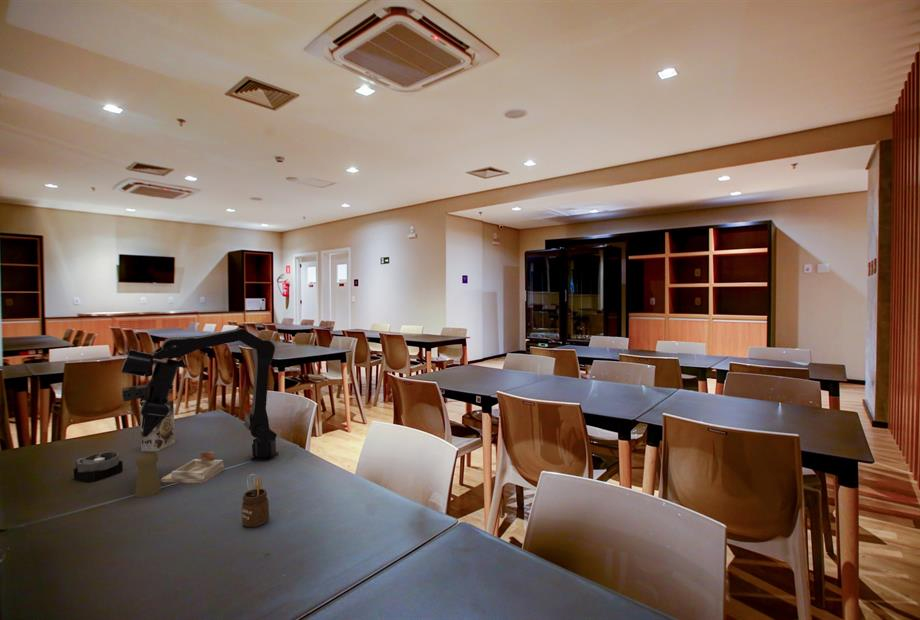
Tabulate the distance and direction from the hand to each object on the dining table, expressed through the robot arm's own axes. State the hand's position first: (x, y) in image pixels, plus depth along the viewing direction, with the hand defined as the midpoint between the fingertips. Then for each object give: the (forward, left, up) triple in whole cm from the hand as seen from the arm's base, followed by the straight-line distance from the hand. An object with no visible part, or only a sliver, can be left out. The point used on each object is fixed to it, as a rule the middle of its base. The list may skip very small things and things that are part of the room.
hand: (144, 432), depth 127 cm
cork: (-5, +5, -15) cm, 17 cm away
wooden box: (-10, -7, -15) cm, 19 cm away
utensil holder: (-44, +18, -15) cm, 50 cm away
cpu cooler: (+20, -5, -16) cm, 26 cm away
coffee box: (+20, -29, -15) cm, 39 cm away
